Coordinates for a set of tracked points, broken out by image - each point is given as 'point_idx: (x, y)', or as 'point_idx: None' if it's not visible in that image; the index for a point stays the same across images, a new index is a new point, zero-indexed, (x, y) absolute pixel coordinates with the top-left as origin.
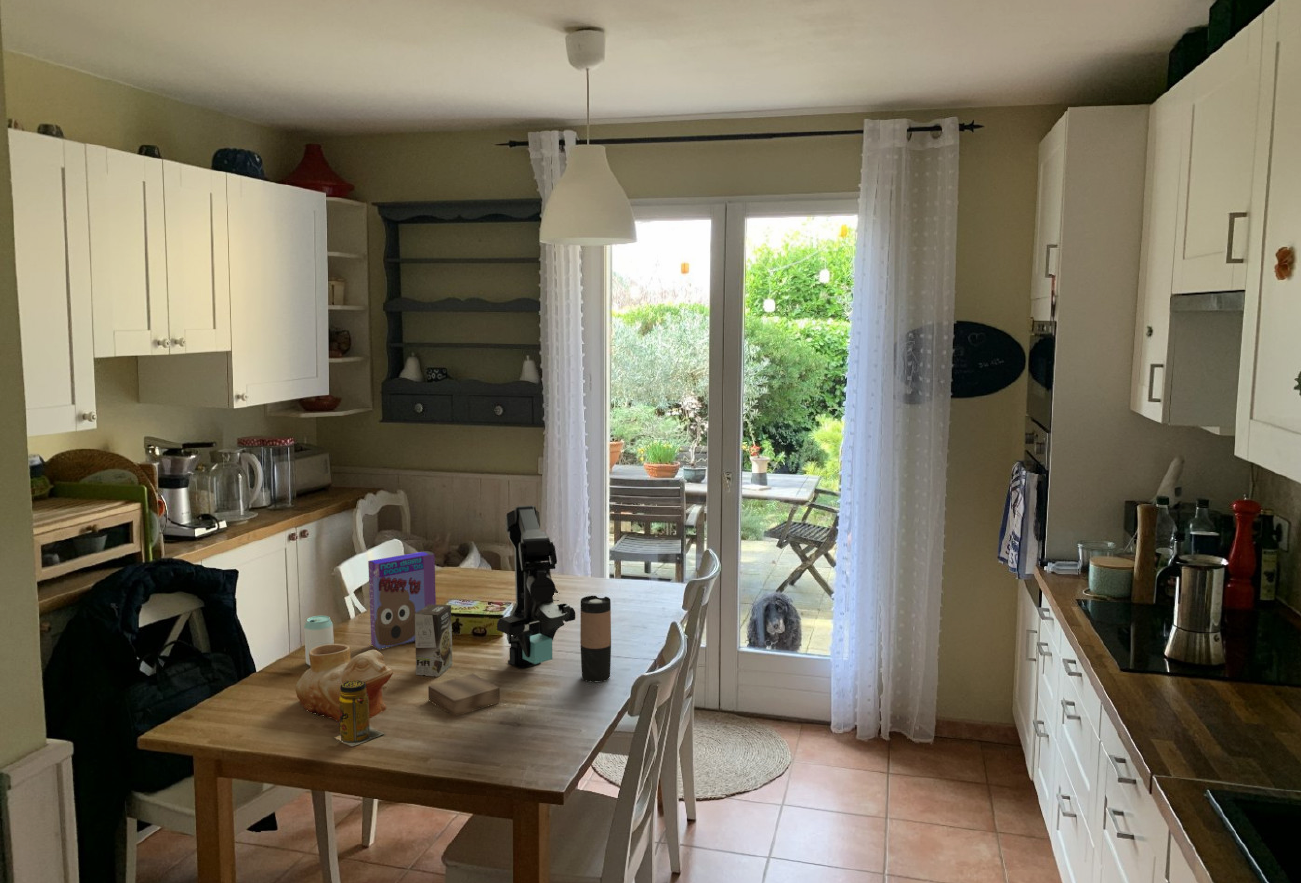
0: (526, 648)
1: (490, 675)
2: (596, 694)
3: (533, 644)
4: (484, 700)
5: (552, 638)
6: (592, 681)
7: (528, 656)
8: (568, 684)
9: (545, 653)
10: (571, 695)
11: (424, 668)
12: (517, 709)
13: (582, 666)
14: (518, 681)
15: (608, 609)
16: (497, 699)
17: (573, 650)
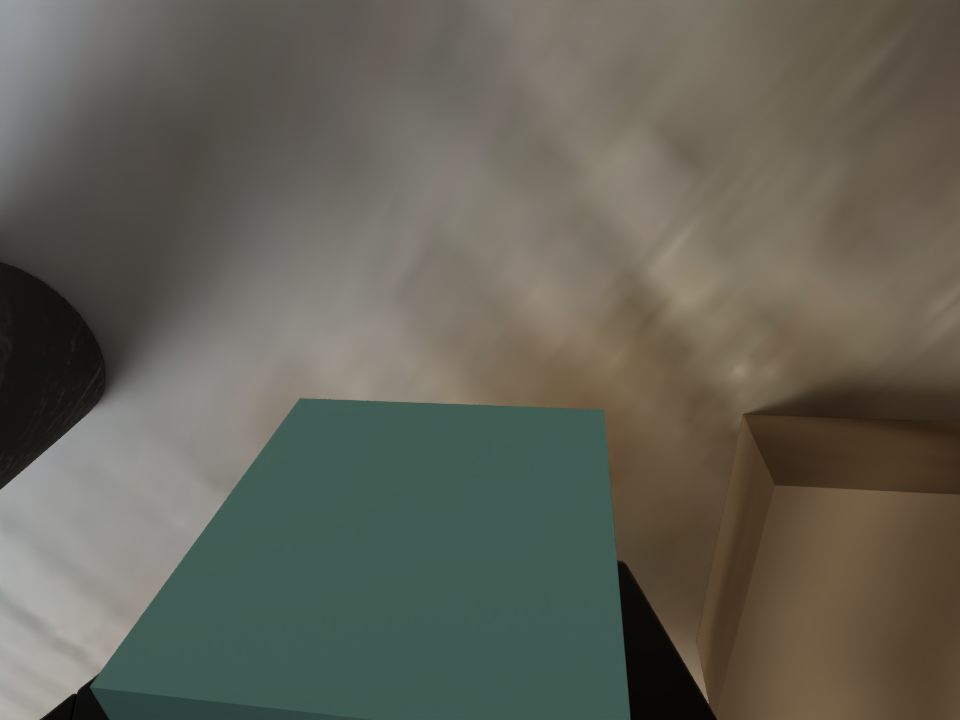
0: (708, 710)
1: None
2: (95, 81)
3: None
4: (899, 448)
5: (82, 704)
6: (56, 296)
7: (629, 571)
8: (217, 363)
9: (381, 478)
10: (275, 195)
11: None
12: (751, 238)
13: (40, 417)
14: None
15: None
16: (771, 430)
17: (46, 648)
